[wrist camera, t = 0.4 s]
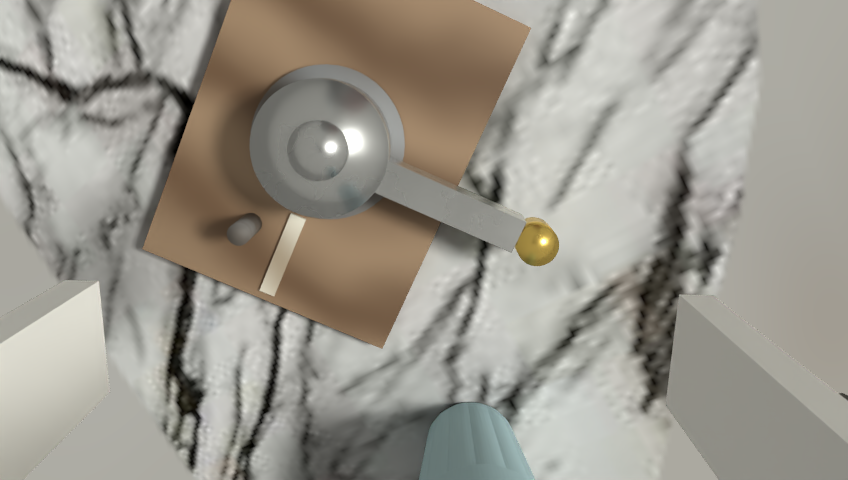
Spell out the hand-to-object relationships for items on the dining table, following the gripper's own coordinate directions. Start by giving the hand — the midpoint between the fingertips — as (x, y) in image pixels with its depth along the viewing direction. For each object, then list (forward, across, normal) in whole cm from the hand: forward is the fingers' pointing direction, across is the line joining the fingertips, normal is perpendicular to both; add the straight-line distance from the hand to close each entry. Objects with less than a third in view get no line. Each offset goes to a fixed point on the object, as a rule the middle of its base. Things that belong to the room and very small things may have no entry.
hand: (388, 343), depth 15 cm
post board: (+24, -5, +2) cm, 25 cm away
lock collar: (+22, 0, 0) cm, 22 cm away
